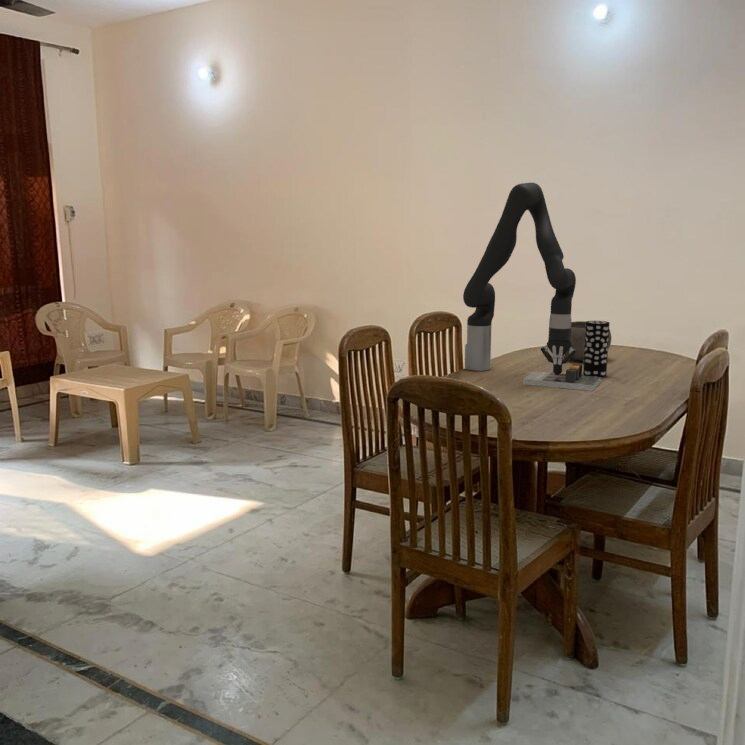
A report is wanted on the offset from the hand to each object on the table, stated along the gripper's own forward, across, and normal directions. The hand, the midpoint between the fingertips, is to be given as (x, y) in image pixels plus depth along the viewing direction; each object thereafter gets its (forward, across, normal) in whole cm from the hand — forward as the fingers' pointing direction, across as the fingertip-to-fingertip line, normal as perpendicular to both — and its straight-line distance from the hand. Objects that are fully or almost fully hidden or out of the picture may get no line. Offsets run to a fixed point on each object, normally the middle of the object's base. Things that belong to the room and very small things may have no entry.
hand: (557, 374), depth 272 cm
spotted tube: (+3, +10, +18) cm, 20 cm away
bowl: (+4, 0, +48) cm, 48 cm away
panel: (+3, +2, 0) cm, 4 cm away
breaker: (0, +6, 0) cm, 6 cm away
